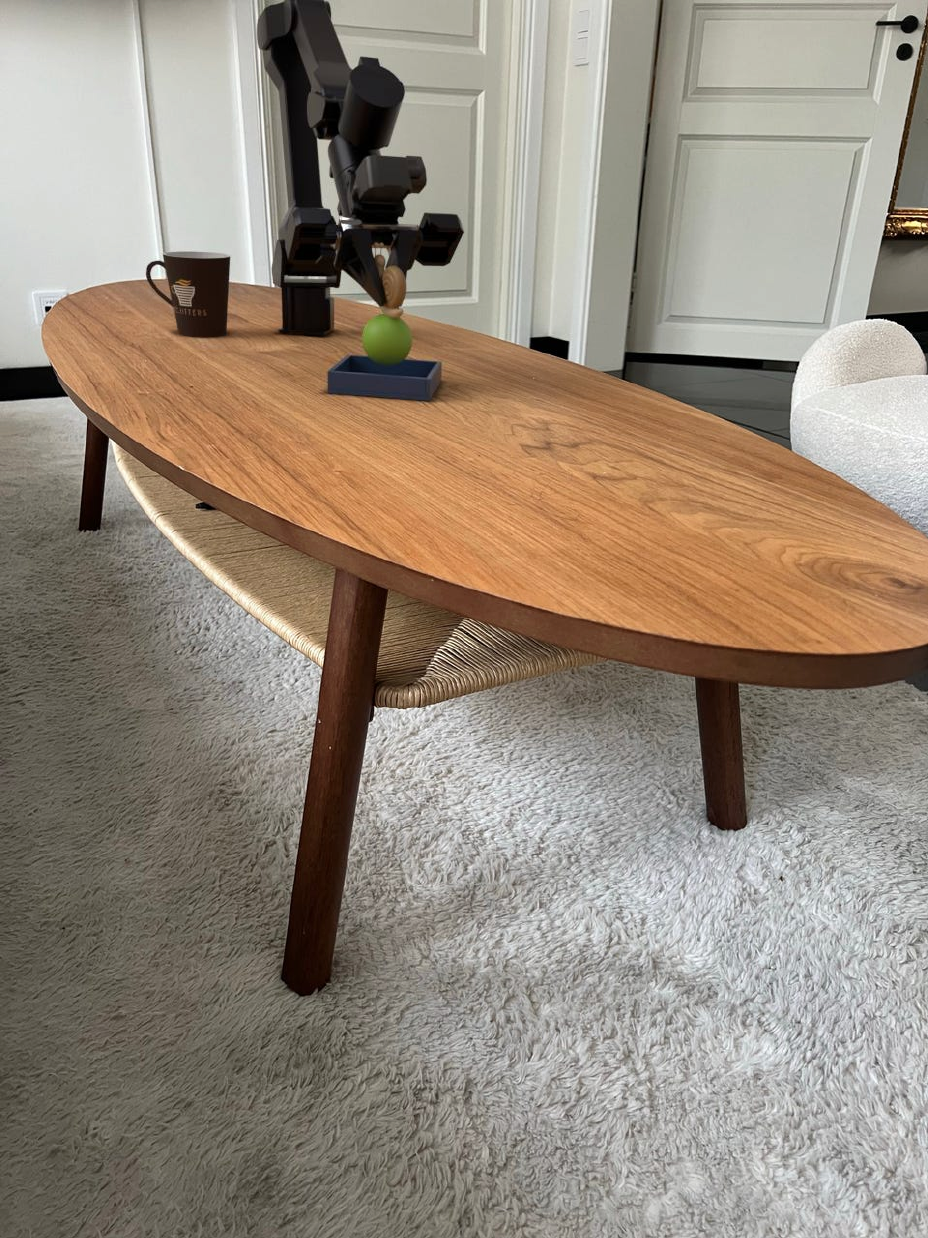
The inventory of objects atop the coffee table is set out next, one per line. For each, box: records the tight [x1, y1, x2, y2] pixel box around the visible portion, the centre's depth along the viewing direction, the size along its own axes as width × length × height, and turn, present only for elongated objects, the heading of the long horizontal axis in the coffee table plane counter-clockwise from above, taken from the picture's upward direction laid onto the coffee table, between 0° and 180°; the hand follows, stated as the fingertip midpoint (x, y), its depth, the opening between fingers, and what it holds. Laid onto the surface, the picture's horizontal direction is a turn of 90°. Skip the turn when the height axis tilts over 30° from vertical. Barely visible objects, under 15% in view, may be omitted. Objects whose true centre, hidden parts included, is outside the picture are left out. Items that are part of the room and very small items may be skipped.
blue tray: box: [326, 353, 443, 402], centre depth 100 cm, size 11×10×2 cm
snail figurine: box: [361, 242, 413, 366], centre depth 97 cm, size 5×6×12 cm
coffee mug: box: [145, 250, 231, 338], centre depth 122 cm, size 12×9×10 cm
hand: (391, 304), depth 95 cm, fingers closed on snail figurine
